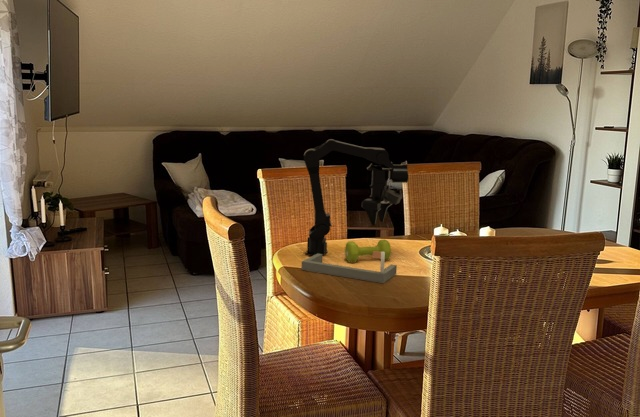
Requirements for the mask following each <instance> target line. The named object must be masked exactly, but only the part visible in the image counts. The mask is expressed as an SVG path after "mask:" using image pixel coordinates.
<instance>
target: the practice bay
mask: <svg viewBox="0 0 640 417" xmlns="http://www.w3.org/2000/svg"><path fill="white" fill-rule="evenodd" d="M323 256H324V255H323V254H318V253H317V254H315V255H310V257H308V258H306V259H304V260H302V261H301V271H307V272H312V273H319V274H324V275H331V276H338V277H342V278H347V279H348V278H349V279H355V280H362V281H367V282H374V283H380V284H385V283H387V282H388V281H389V280H390V279H391V278H393V277H394V276H396V274H397V271H398V270H397V264H389V265H388V266H387V267H386V268H385V261H386V260H385V252H378V251H373V255H372V258H373V259H380V271H377V270H371V269H364V268H358V267H350V266H345V265H338V264H332V263H325V262H323Z"/></svg>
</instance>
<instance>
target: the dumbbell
mask: <svg viewBox="0 0 640 417" xmlns="http://www.w3.org/2000/svg"><path fill="white" fill-rule="evenodd" d="M391 247H392V246H391V244H390V242H389V241H388V240H387V239H380V240H378V242H377V244H376V246H375V245H374V246H362V247H361V246H359V245H358V243H356V242H355V241H351V240H350V241H347V242H346V243H345V247H344V255H345V259H346V260H347V262H348V263H352V264H353V263H356V262H357V261H358V260H359V257H361V256H373V251H378V252H385V261H389V260H390V257H391V254H392V248H391Z"/></svg>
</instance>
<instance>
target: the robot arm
mask: <svg viewBox="0 0 640 417" xmlns="http://www.w3.org/2000/svg"><path fill="white" fill-rule="evenodd" d="M331 152H337V153H342V154H347V155H349V156H350V155H351V156H354V157H360V158H363V159H365V160H367V161H370V162H372V163H370V164H369V165H368V166H367V167H366V169H367V171H371V184H369V188H370V190H371V193H370V195H369V196H368V198H366V199H364V200H362V201H361V208H363V210H365V213H366V214H367V217H368V218H369V221H370V223H371V226H374V227H375V226H376V223H377V218H379V222H382V223H384V221H385V218H386V214H387V211H388V208H389V207H391V206H392V205H397V204H400V203H401V200H402V199H403V193H402V189H399V188H397V189H396V190H394V189H393V190H392V189H390V187H391V186H390V185H389V184H388V180H389V181H390V180H391V183H394V184H399V183H401V184H404V183H405V184H407V183H408V182H409V170H408V164H406V163H402V164H393V162H392V161H391V160H390V154H389V152H388V151H387V150H386V149H385V148H382V147H372V146H371V147H370V146H369V147H365V146H359V145H356V144H352V143H347V142H345V141H344V142H343V141H340V140H336V139H333V138H330V139H328V140H326V141H325V142H324V143H321V144H320V145H317V146H316V147H314V148H309V149H307V150H305V152H304V154H303V162H304V164H305V167H306V170H307V172H308V175H309V181H310V187H311V193H312V200H313V201H312V202H313V208H314V225H313V226H312V227H311V228H309V230H308V236H307V245H306V247H307V248H306V250H307V251H306V252H305V255H307V256H313V255H315V254H317V253H318V254H323V256H324V255H326V254H328V242H327V237H325V236H327V235H328V234H329V233H330V232H331V227H332V222H331V215H330V214H331V213H330V212H326V210H325V206H324V205H325V204H324V199H323V191H322V185H321V178H320V160H321V159H323V157H325V156H327V155H328V154H329V153H331ZM373 163H374V164H377V165H374V164H373ZM382 166H385V167H382Z"/></svg>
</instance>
